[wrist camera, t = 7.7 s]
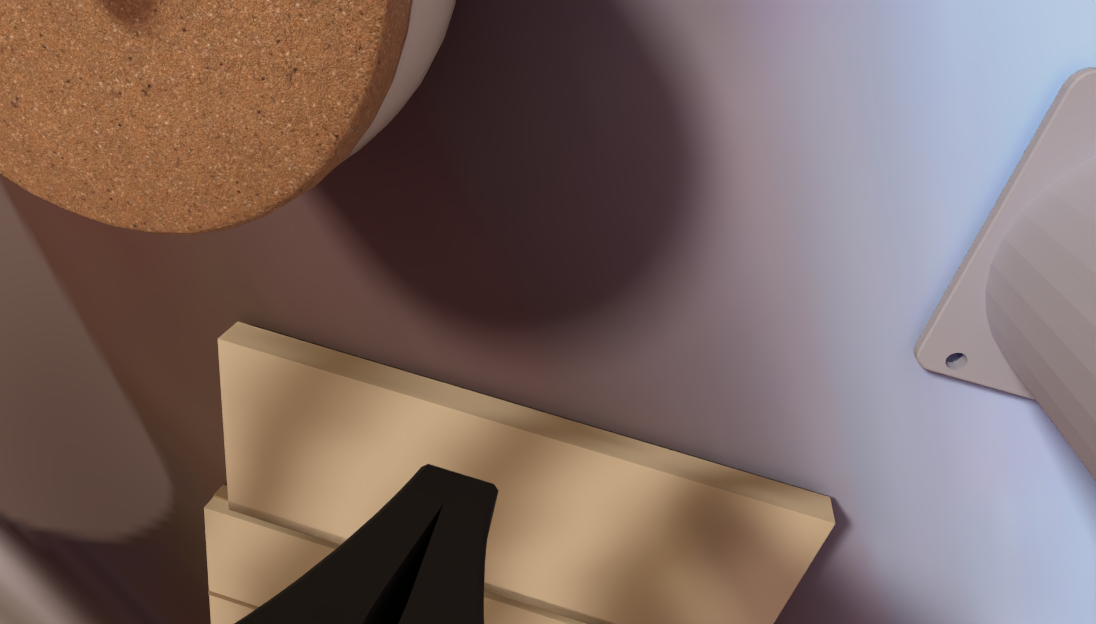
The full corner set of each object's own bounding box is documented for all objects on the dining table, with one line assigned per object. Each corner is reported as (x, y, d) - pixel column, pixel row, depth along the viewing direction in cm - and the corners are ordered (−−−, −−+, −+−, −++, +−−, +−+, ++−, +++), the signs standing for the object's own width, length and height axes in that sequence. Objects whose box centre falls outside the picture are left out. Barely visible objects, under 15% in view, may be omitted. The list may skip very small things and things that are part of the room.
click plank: (830, 497, 22) (835, 523, 21) (741, 645, 26) (742, 673, 25) (237, 321, 23) (217, 338, 22) (245, 489, 27) (228, 510, 26)
